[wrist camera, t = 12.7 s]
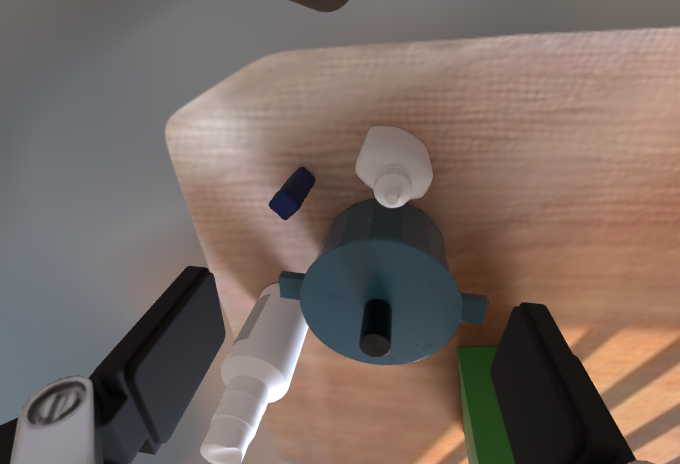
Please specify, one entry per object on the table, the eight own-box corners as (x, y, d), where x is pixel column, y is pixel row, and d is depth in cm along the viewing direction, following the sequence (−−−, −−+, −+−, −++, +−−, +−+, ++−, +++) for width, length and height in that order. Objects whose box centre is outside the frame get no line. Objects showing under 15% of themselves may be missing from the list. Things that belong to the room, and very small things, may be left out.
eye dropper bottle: (394, 183, 32) (391, 250, 22) (356, 138, 31) (334, 186, 20) (433, 155, 30) (450, 213, 20) (395, 105, 29) (392, 140, 19)
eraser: (288, 176, 34) (264, 206, 28) (303, 163, 33) (282, 190, 27) (303, 192, 34) (283, 224, 28) (318, 179, 33) (301, 209, 27)
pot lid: (300, 224, 27) (281, 260, 23) (477, 243, 25) (494, 285, 21) (304, 344, 34) (289, 390, 29) (444, 365, 32) (451, 416, 28)
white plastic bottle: (251, 285, 41) (163, 431, 26) (303, 277, 40) (240, 429, 24) (272, 326, 44) (204, 479, 29) (321, 321, 43) (275, 480, 27)
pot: (299, 190, 34) (272, 230, 27) (484, 207, 32) (508, 256, 25) (302, 288, 40) (280, 342, 33) (456, 308, 38) (470, 370, 31)
